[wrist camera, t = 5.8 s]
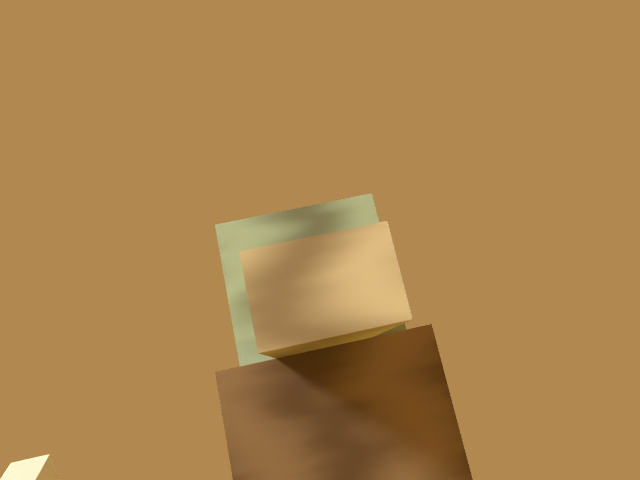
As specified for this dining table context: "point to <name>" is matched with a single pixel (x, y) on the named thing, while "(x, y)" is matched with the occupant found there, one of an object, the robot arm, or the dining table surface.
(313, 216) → the beige and green blocks
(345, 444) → the walnut stand
